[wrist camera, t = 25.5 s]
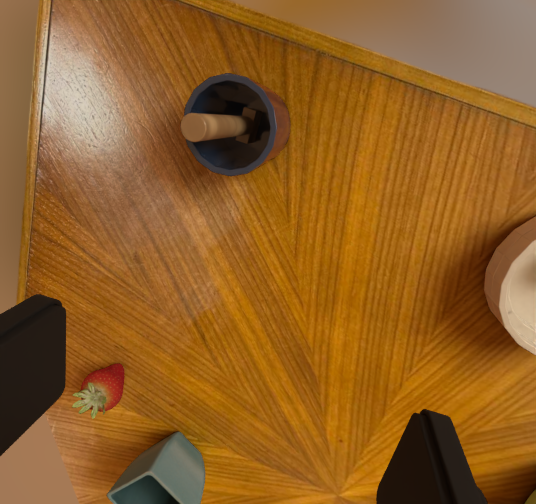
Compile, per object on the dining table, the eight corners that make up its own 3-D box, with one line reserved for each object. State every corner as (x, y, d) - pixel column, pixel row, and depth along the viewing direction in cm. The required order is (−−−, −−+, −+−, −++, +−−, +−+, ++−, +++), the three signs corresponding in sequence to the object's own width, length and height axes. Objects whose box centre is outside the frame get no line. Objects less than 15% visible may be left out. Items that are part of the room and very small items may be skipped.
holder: (224, 78, 35) (189, 64, 27) (298, 94, 35) (285, 85, 26) (213, 154, 38) (177, 163, 30) (281, 171, 37) (264, 185, 29)
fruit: (144, 364, 49) (109, 407, 42) (130, 390, 51) (95, 435, 44) (111, 345, 49) (71, 384, 42) (99, 371, 51) (58, 414, 44)
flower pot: (179, 414, 51) (148, 471, 43) (220, 456, 52) (198, 520, 44) (140, 438, 54) (104, 495, 46) (179, 478, 55) (151, 540, 47)
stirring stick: (249, 107, 35) (185, 96, 21) (264, 112, 35) (211, 105, 20) (241, 138, 37) (175, 148, 22) (256, 143, 36) (200, 157, 22)
